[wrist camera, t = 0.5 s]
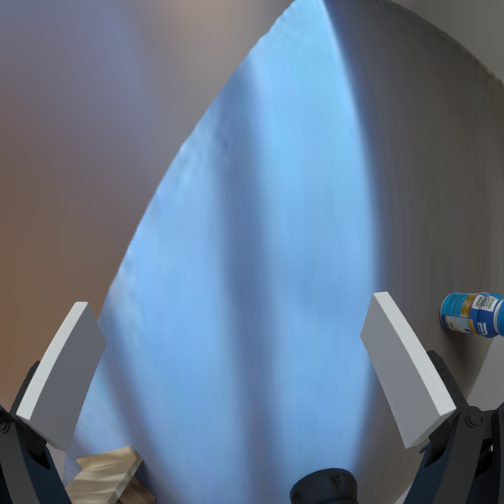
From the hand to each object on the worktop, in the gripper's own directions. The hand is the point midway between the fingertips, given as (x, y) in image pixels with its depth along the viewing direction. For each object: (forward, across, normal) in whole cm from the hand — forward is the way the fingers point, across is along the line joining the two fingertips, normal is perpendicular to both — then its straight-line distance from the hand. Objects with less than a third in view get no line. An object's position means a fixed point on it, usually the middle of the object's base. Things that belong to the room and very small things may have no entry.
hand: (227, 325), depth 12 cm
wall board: (+4, +30, +58) cm, 66 cm away
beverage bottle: (+24, -45, +26) cm, 57 cm away
